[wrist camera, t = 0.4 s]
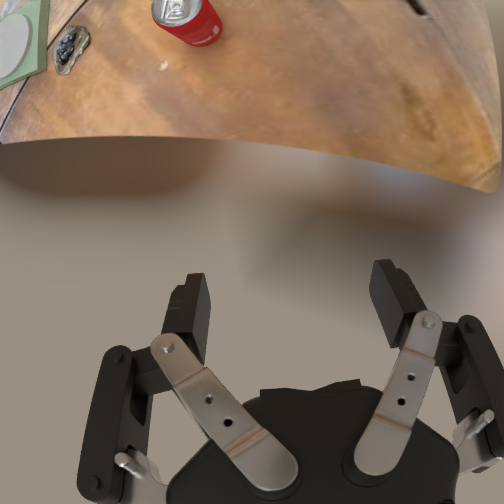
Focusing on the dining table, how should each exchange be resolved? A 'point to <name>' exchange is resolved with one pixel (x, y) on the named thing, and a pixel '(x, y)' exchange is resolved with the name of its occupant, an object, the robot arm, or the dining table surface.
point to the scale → (23, 42)
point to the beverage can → (188, 20)
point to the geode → (69, 48)
